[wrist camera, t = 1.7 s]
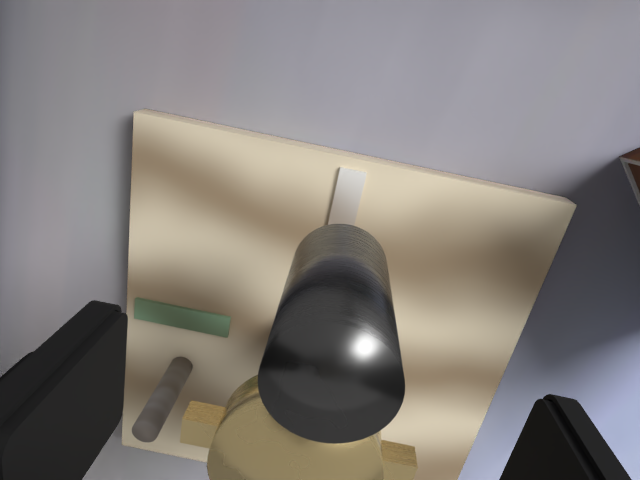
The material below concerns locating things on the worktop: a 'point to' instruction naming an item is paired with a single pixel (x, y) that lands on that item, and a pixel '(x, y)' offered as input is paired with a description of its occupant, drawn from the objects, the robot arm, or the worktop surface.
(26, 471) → the robot arm
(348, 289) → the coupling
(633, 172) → the food container
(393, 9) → the worktop surface
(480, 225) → the post base
